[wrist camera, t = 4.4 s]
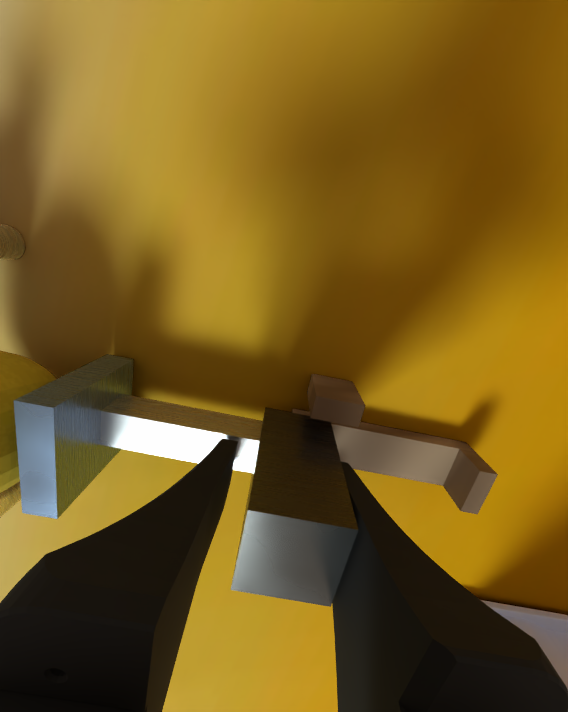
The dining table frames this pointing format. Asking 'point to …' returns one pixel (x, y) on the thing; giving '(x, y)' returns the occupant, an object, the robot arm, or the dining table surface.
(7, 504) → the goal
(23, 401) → the rod
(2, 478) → the lemon
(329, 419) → the track
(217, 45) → the dining table surface
